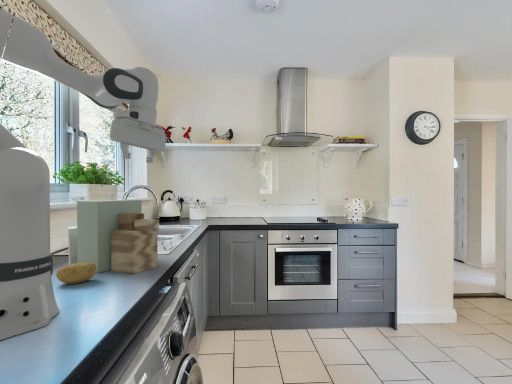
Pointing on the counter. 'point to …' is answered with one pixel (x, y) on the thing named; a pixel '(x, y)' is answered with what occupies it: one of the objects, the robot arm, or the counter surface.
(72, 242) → the skincare box
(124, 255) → the low oak block
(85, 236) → the large sage green box
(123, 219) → the walnut handle block
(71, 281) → the potato
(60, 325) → the counter surface
